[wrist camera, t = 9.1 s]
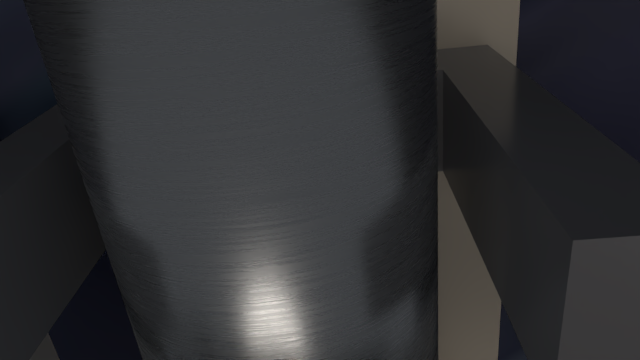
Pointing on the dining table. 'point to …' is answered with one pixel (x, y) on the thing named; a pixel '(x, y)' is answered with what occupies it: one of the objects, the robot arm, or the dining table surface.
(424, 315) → the tube
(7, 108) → the dining table surface
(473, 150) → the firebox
